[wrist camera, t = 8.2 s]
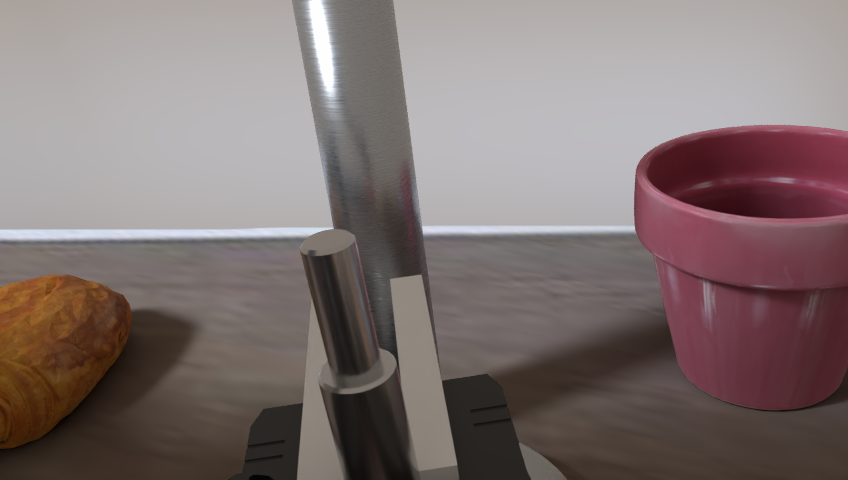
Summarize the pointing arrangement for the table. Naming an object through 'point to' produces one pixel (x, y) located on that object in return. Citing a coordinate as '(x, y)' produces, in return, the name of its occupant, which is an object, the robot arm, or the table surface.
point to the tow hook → (356, 366)
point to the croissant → (54, 350)
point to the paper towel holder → (371, 154)
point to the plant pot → (752, 259)
